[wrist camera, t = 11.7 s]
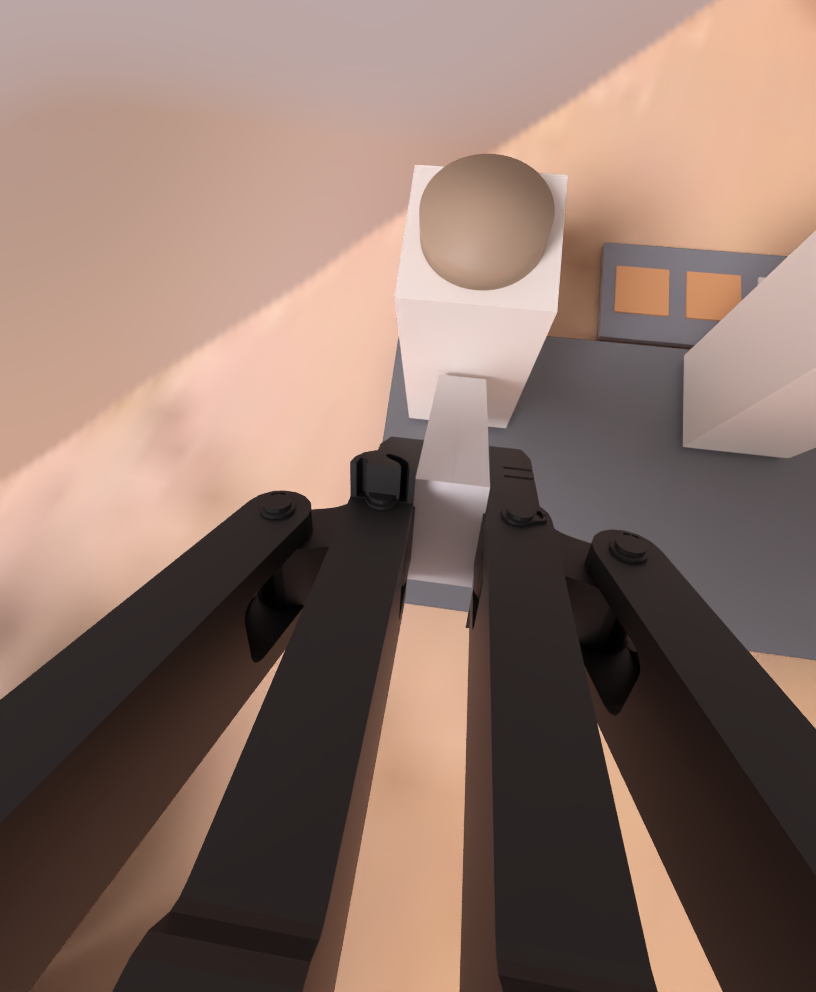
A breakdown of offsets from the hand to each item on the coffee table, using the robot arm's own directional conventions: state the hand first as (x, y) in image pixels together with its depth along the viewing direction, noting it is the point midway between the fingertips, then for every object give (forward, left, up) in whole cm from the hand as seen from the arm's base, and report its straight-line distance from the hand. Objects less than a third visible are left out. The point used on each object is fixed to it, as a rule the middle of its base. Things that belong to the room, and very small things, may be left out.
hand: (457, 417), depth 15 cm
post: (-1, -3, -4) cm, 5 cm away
